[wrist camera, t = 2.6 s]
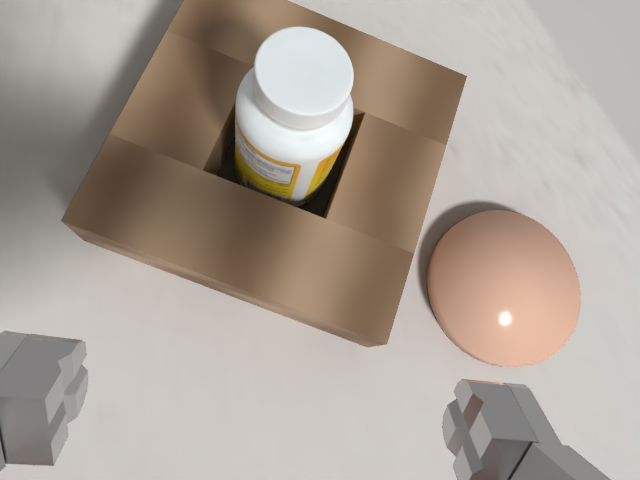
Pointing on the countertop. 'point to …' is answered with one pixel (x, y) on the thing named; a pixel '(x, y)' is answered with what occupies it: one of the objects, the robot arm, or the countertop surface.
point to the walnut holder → (256, 208)
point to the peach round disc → (504, 289)
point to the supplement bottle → (293, 114)
